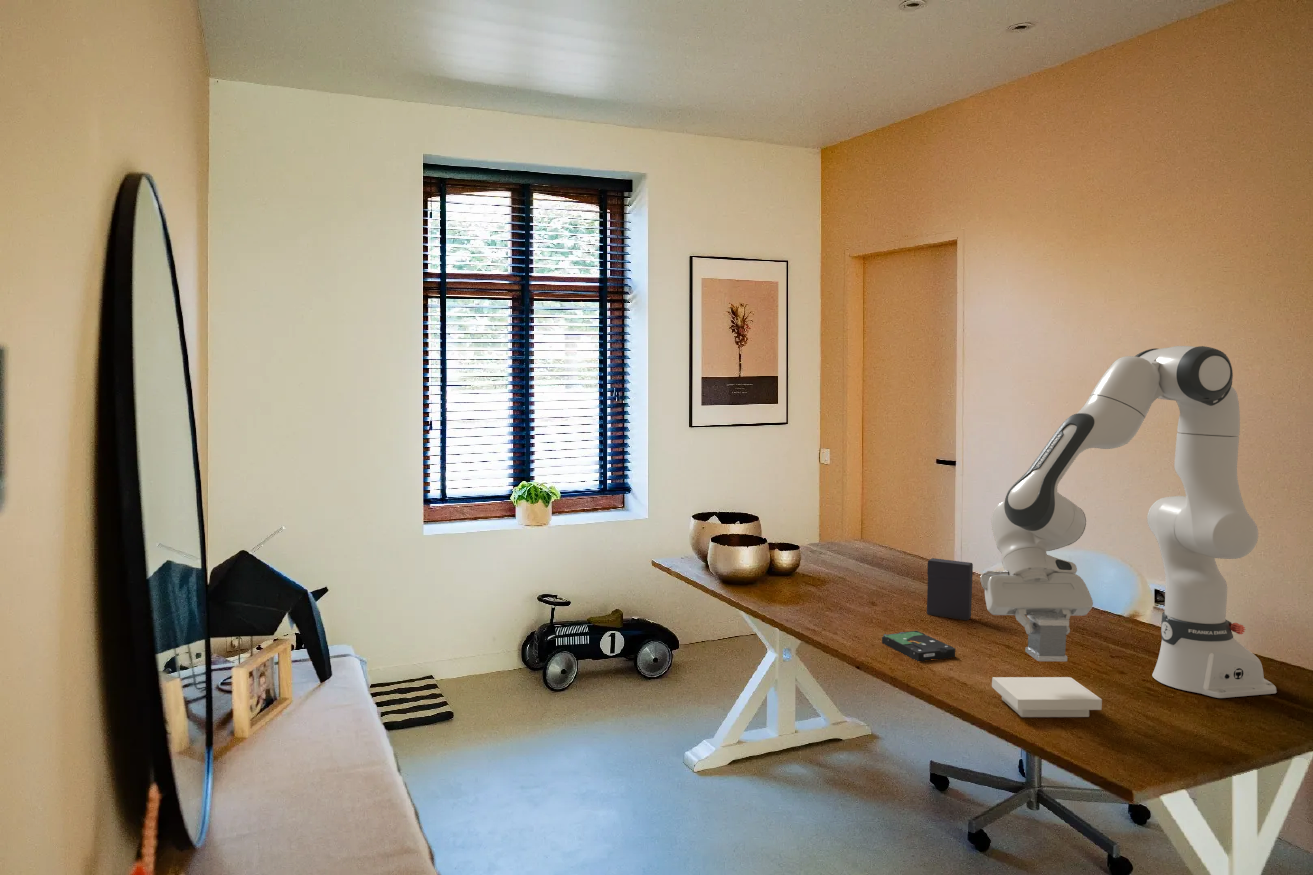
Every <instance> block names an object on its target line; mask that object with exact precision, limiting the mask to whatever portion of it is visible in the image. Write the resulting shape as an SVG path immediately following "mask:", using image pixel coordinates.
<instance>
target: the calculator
mask: <svg viewBox="0 0 1313 875" xmlns="http://www.w3.org/2000/svg"><path fill="white" fill-rule="evenodd" d="M973 566H974V565H973V562H969V561H961V560H960V561H959V560H950V559H943V558H935V557H932V558H930V559H928V561H927V571H926V572H927V588H926V589H927V594H926V599H927V600H926V614H927V615H929V616H935V617H941V618H949V619H953V620H961V621H969V620H970V619H971V617H972V597H973V575H974V572H973V571H974V570H973V568H974V567H973Z"/></svg>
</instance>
